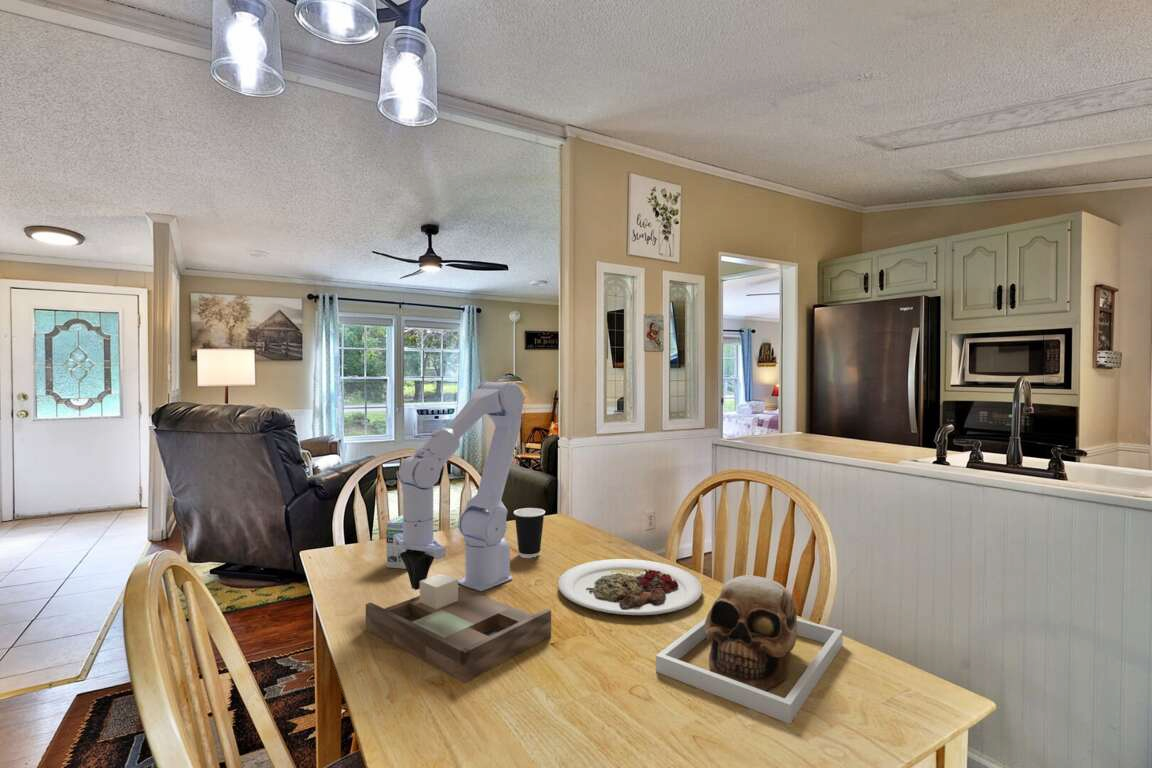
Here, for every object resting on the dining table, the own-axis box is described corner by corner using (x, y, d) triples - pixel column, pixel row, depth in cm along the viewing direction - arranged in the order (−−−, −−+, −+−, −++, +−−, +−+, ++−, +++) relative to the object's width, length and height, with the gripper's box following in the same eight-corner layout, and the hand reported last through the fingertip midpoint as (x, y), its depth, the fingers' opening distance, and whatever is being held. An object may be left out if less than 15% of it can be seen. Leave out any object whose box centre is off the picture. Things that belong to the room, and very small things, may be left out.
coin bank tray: (728, 612, 105) (728, 599, 105) (842, 645, 92) (842, 630, 92) (655, 671, 84) (656, 655, 84) (790, 724, 71) (790, 704, 71)
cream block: (441, 594, 107) (441, 573, 107) (458, 600, 104) (458, 579, 104) (419, 602, 103) (419, 580, 103) (436, 609, 100) (436, 587, 100)
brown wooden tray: (451, 596, 112) (451, 574, 112) (551, 635, 95) (551, 610, 95) (365, 629, 97) (365, 604, 97) (464, 683, 80) (464, 652, 80)
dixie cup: (507, 554, 139) (507, 510, 139) (534, 548, 144) (534, 506, 144) (524, 562, 133) (524, 517, 133) (551, 556, 138) (551, 512, 137)
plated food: (528, 592, 115) (528, 576, 115) (617, 558, 137) (617, 544, 137) (645, 639, 95) (645, 619, 95) (728, 590, 117) (728, 574, 117)
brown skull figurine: (723, 695, 77) (723, 595, 78) (686, 647, 95) (687, 566, 96) (832, 694, 78) (831, 595, 80) (776, 647, 96) (776, 567, 97)
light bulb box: (411, 570, 127) (411, 523, 127) (385, 568, 129) (385, 522, 128) (432, 555, 138) (432, 512, 138) (407, 553, 139) (407, 511, 139)
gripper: (379, 516, 109) (379, 584, 109) (423, 529, 100) (423, 603, 100) (410, 509, 114) (410, 574, 114) (454, 521, 105) (454, 592, 105)
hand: (418, 587), depth 107 cm, fingers closed
